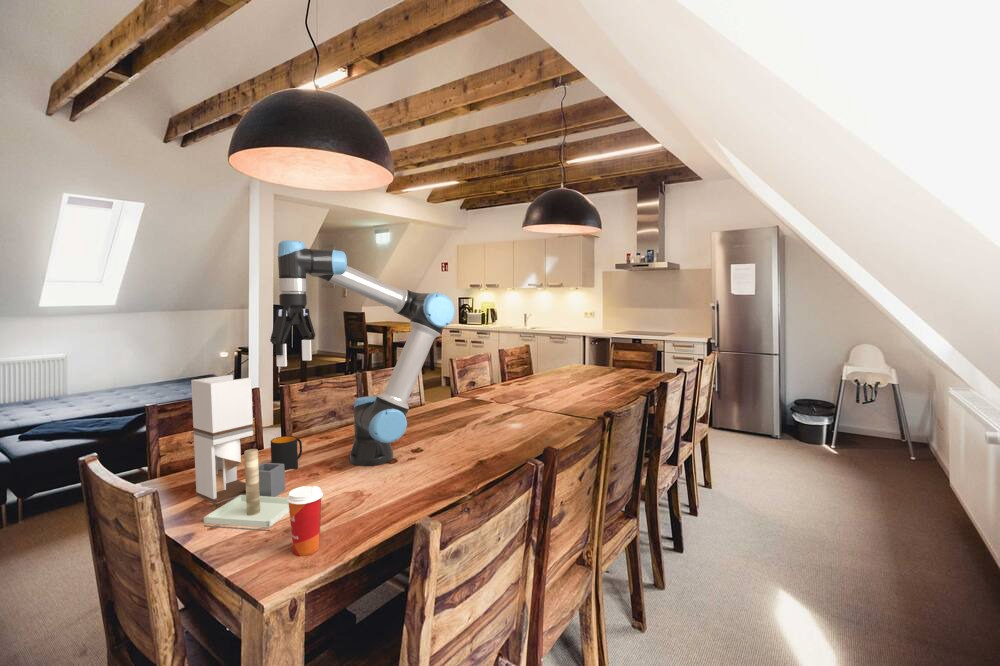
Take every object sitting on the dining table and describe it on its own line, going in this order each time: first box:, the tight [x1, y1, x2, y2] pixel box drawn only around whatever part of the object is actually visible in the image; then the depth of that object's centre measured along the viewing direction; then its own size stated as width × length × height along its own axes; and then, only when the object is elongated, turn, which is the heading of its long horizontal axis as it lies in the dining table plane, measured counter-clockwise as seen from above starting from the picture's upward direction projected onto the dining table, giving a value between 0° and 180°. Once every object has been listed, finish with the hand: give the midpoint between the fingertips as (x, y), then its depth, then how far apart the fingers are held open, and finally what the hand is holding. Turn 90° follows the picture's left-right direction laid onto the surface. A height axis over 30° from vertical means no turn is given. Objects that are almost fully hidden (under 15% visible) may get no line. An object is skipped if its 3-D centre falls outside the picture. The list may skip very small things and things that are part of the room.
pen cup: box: [258, 462, 286, 497], centre depth 139 cm, size 7×7×9 cm
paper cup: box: [286, 485, 324, 557], centre depth 110 cm, size 8×8×14 cm
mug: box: [270, 435, 303, 471], centre depth 164 cm, size 8×12×10 cm
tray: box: [203, 494, 290, 532], centre depth 127 cm, size 18×14×2 cm
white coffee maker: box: [190, 374, 254, 505], centre depth 139 cm, size 11×11×35 cm
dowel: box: [243, 448, 260, 516], centre depth 126 cm, size 3×3×17 cm
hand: (295, 363), depth 144 cm, fingers open, 13 cm apart
